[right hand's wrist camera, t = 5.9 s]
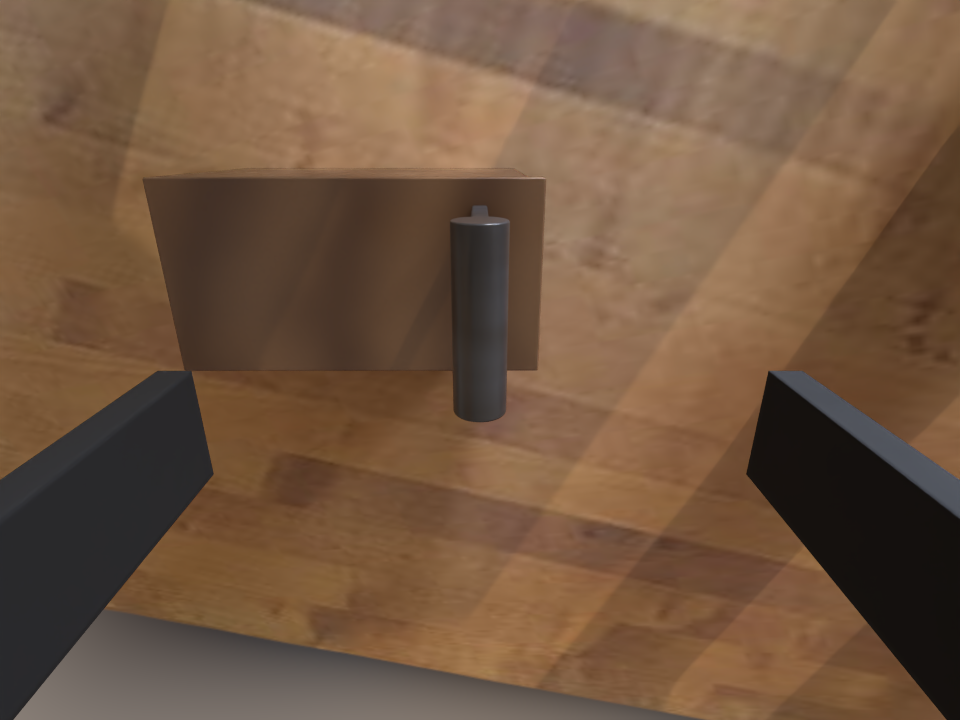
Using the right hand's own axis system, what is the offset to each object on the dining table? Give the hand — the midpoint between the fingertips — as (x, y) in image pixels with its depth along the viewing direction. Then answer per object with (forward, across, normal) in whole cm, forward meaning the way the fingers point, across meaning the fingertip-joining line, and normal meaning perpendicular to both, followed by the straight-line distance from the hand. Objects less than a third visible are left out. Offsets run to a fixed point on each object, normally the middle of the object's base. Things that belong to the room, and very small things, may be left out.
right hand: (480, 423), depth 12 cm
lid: (+15, -6, 0) cm, 16 cm away
